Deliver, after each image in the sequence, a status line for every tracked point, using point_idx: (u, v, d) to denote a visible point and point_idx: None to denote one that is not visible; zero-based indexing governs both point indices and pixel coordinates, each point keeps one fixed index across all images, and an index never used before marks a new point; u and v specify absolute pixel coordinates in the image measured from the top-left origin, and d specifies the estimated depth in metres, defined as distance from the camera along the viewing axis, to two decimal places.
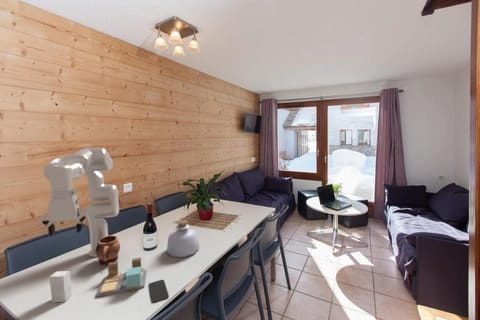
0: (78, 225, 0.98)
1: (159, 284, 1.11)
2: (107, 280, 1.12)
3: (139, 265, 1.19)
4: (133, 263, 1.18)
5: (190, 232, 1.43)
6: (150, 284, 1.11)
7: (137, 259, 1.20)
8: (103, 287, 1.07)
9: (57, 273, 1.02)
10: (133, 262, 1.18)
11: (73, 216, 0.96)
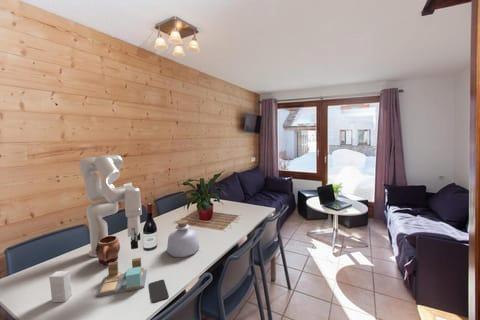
0: None
1: (159, 284, 1.11)
2: (107, 280, 1.12)
3: (139, 265, 1.19)
4: (133, 263, 1.18)
5: (190, 232, 1.43)
6: (150, 284, 1.11)
7: (137, 259, 1.20)
8: (103, 287, 1.07)
9: (57, 273, 1.02)
10: (133, 262, 1.18)
11: None
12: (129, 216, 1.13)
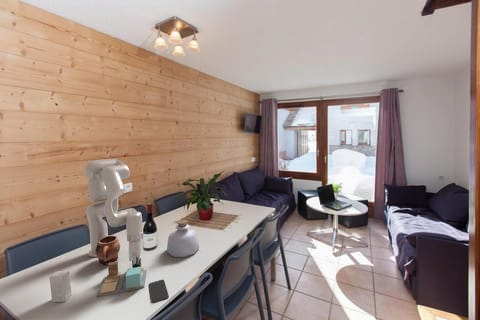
0: None
1: (159, 284, 1.11)
2: (107, 280, 1.12)
3: None
4: None
5: (190, 232, 1.43)
6: (150, 284, 1.11)
7: None
8: (103, 287, 1.07)
9: (57, 273, 1.02)
10: None
11: None
12: (130, 240, 1.15)
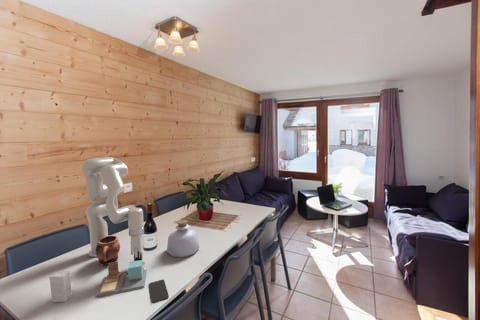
0: None
1: (159, 284, 1.11)
2: (107, 280, 1.12)
3: None
4: None
5: (190, 232, 1.43)
6: (150, 284, 1.11)
7: None
8: (103, 287, 1.07)
9: (57, 273, 1.02)
10: None
11: None
12: (132, 235, 1.21)
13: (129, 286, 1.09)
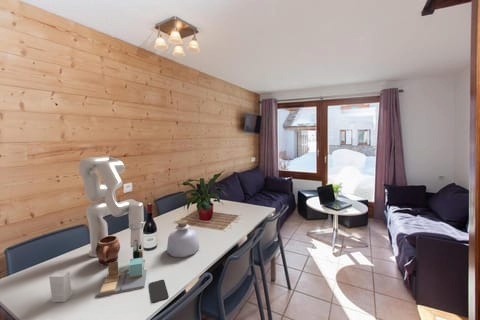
0: None
1: (159, 284, 1.11)
2: (107, 280, 1.12)
3: (141, 256, 1.28)
4: None
5: (190, 232, 1.43)
6: (150, 284, 1.11)
7: (139, 251, 1.28)
8: (103, 287, 1.07)
9: (57, 273, 1.02)
10: None
11: None
12: (132, 229, 1.23)
13: (129, 286, 1.09)
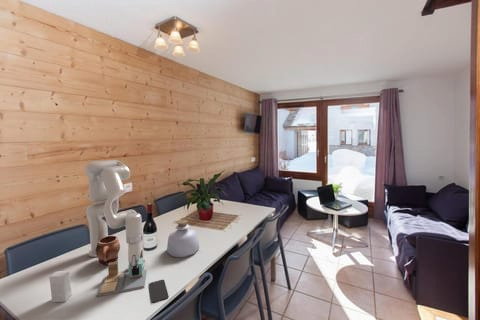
0: None
1: (159, 284, 1.11)
2: (107, 280, 1.12)
3: (141, 257, 1.28)
4: None
5: (190, 232, 1.43)
6: (150, 284, 1.12)
7: None
8: (103, 287, 1.07)
9: (57, 273, 1.02)
10: None
11: None
12: (130, 243, 1.13)
13: (129, 286, 1.09)
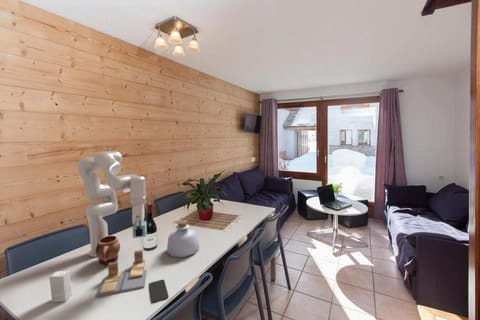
0: None
1: (159, 284, 1.11)
2: (107, 280, 1.12)
3: (141, 257, 1.28)
4: (135, 255, 1.27)
5: (190, 232, 1.43)
6: (150, 284, 1.12)
7: (139, 251, 1.28)
8: (103, 287, 1.07)
9: (57, 273, 1.02)
10: (135, 254, 1.26)
11: None
12: (134, 204, 1.15)
13: (129, 286, 1.09)
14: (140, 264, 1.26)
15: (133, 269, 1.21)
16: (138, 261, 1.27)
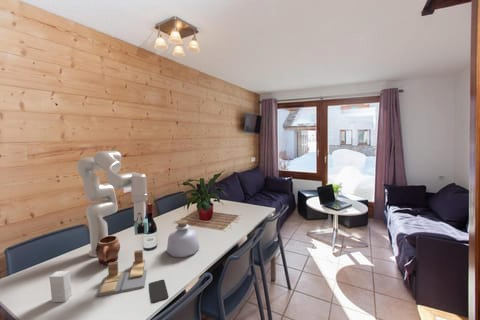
0: None
1: (159, 284, 1.11)
2: (107, 280, 1.12)
3: (141, 257, 1.28)
4: (135, 255, 1.27)
5: (190, 232, 1.43)
6: (150, 284, 1.12)
7: (139, 251, 1.28)
8: (103, 287, 1.07)
9: (57, 273, 1.02)
10: (135, 254, 1.26)
11: None
12: (135, 201, 1.16)
13: (129, 286, 1.09)
14: (140, 264, 1.26)
15: (133, 269, 1.21)
16: (138, 261, 1.27)
